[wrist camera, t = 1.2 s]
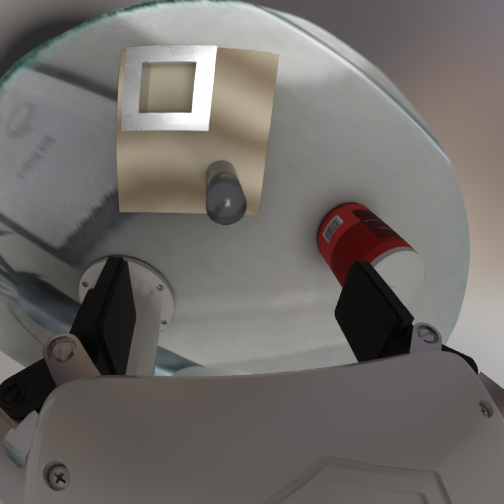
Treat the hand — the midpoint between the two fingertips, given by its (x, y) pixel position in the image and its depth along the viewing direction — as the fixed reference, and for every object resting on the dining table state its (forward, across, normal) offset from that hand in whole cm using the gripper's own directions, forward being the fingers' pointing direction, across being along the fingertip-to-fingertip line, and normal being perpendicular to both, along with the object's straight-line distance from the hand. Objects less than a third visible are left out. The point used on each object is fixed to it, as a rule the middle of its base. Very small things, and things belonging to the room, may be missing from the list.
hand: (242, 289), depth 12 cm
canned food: (+18, -15, +6) cm, 25 cm away
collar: (+17, +5, -8) cm, 20 cm away
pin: (+17, 0, 0) cm, 17 cm away
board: (+18, +3, -4) cm, 19 cm away
